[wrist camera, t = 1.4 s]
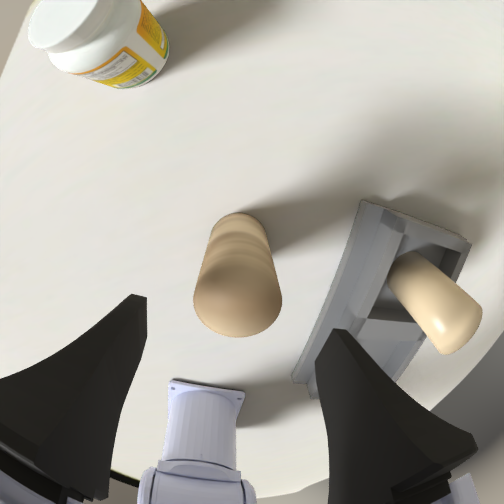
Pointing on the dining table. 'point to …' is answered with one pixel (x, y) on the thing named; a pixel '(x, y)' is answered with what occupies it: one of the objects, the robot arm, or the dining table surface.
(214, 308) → the oak peg
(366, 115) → the dining table surface
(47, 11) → the supplement bottle
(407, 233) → the rack
